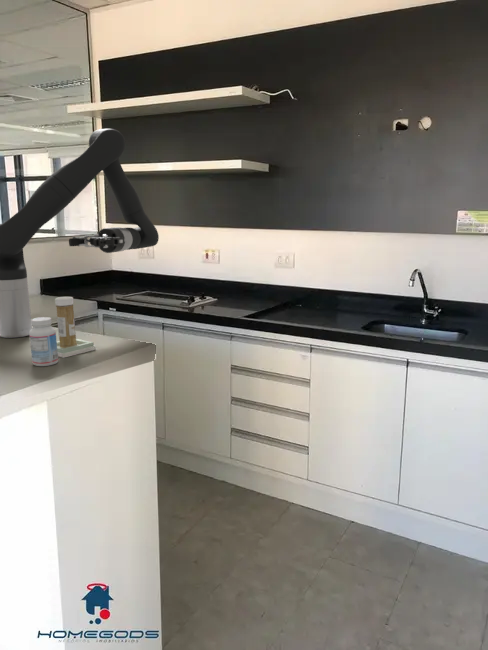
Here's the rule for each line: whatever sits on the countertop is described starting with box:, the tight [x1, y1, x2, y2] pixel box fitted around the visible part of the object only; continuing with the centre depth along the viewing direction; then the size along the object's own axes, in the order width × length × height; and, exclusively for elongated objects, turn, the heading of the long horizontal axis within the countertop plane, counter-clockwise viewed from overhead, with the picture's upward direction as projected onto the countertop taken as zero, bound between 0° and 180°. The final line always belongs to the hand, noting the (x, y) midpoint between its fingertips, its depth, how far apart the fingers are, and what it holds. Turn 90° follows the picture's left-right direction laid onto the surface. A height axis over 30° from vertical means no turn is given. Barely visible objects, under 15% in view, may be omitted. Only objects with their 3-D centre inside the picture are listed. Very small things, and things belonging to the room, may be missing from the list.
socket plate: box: [56, 338, 97, 358], centre depth 147 cm, size 10×10×2 cm
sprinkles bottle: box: [54, 296, 77, 348], centre depth 145 cm, size 5×5×14 cm
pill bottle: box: [28, 316, 59, 367], centre depth 134 cm, size 6×6×11 cm
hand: (82, 242), depth 155 cm, fingers open, 8 cm apart
